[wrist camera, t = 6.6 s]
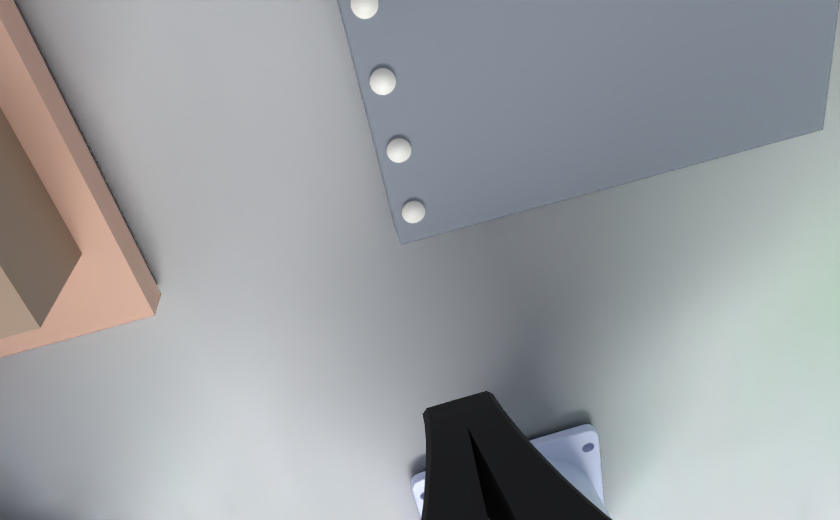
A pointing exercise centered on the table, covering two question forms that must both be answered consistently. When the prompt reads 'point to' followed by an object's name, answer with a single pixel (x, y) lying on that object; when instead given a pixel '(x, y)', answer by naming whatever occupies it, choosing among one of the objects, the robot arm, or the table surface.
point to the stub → (56, 214)
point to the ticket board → (574, 94)
